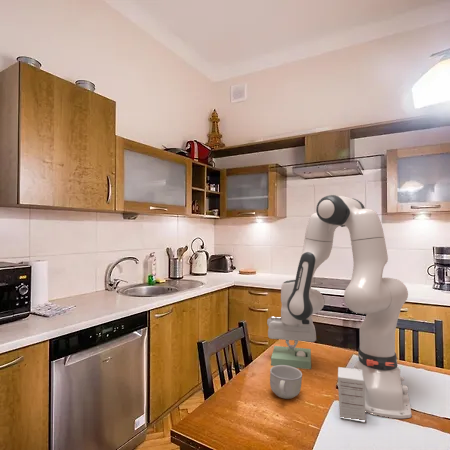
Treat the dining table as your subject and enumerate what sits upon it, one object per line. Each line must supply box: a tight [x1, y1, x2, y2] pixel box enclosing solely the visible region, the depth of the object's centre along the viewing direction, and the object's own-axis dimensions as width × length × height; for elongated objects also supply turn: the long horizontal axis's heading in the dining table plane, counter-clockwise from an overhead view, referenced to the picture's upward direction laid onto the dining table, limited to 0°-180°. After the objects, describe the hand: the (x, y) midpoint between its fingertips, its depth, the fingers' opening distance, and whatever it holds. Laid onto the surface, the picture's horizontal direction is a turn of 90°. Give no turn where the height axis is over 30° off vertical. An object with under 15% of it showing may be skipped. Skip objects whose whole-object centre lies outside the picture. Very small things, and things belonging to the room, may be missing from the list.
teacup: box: [269, 365, 303, 400], centre depth 109 cm, size 14×11×8 cm
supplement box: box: [337, 366, 367, 422], centre depth 98 cm, size 7×7×13 cm
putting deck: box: [270, 345, 312, 370], centre depth 138 cm, size 14×16×3 cm
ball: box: [296, 351, 306, 357], centre depth 137 cm, size 4×4×4 cm
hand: (291, 350), depth 137 cm, fingers closed
